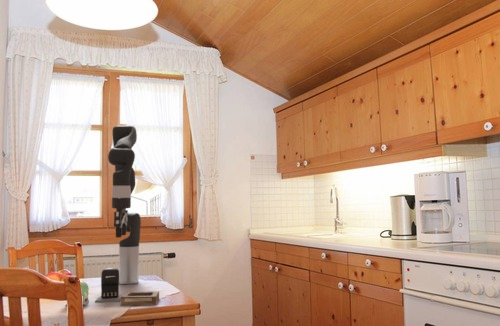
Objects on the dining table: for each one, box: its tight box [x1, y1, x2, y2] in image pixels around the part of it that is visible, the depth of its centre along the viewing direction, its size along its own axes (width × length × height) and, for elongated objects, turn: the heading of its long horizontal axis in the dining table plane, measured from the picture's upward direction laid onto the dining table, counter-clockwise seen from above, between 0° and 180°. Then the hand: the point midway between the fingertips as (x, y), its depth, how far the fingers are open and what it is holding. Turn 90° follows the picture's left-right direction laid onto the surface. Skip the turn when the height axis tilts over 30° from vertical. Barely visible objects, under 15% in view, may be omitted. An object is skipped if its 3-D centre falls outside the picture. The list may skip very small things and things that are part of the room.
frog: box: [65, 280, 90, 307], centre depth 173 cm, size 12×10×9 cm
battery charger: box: [100, 267, 120, 298], centre depth 181 cm, size 7×4×11 cm, turn 106°
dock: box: [120, 290, 160, 306], centre depth 176 cm, size 10×13×3 cm
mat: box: [94, 294, 123, 303], centre depth 181 cm, size 9×9×1 cm
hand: (121, 236), depth 187 cm, fingers open, 8 cm apart
